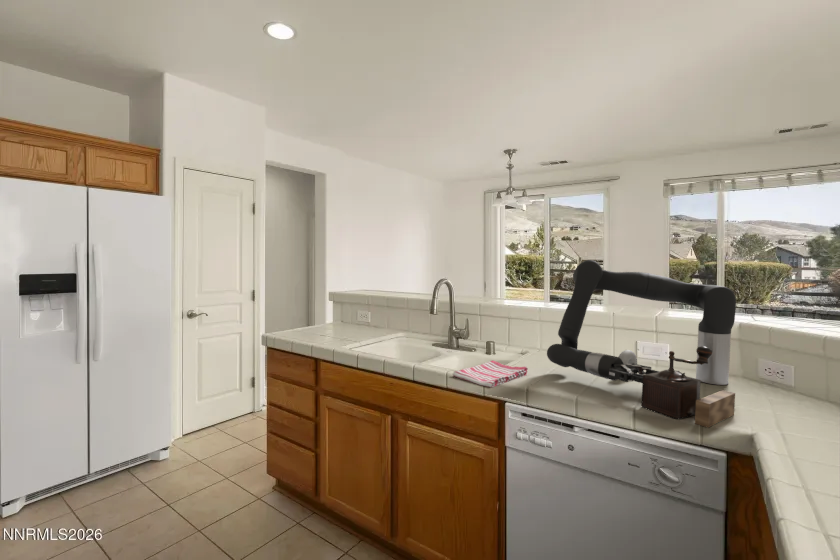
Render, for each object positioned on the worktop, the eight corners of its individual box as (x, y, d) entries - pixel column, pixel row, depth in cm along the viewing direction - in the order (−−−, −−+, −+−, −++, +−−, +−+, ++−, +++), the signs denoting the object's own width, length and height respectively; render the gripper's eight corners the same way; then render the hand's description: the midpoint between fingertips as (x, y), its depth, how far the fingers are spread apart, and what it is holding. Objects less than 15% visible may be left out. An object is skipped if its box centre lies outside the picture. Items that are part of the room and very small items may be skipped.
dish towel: (529, 376, 148) (529, 366, 148) (491, 389, 132) (491, 379, 131) (490, 366, 160) (490, 357, 160) (450, 378, 144) (450, 368, 143)
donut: (623, 381, 141) (624, 352, 141) (613, 378, 144) (614, 350, 144) (638, 377, 147) (640, 349, 147) (629, 374, 150) (630, 347, 149)
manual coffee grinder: (679, 421, 107) (683, 352, 106) (639, 407, 117) (642, 344, 116) (713, 411, 114) (717, 347, 113) (673, 399, 124) (676, 339, 123)
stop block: (721, 411, 114) (722, 390, 114) (734, 414, 112) (735, 393, 111) (694, 423, 105) (696, 400, 105) (708, 427, 103) (709, 404, 102)
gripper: (591, 356, 130) (642, 368, 117) (616, 351, 138) (667, 362, 125) (590, 380, 131) (641, 394, 117) (615, 373, 139) (666, 386, 125)
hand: (655, 378), depth 121 cm, fingers open, 8 cm apart
